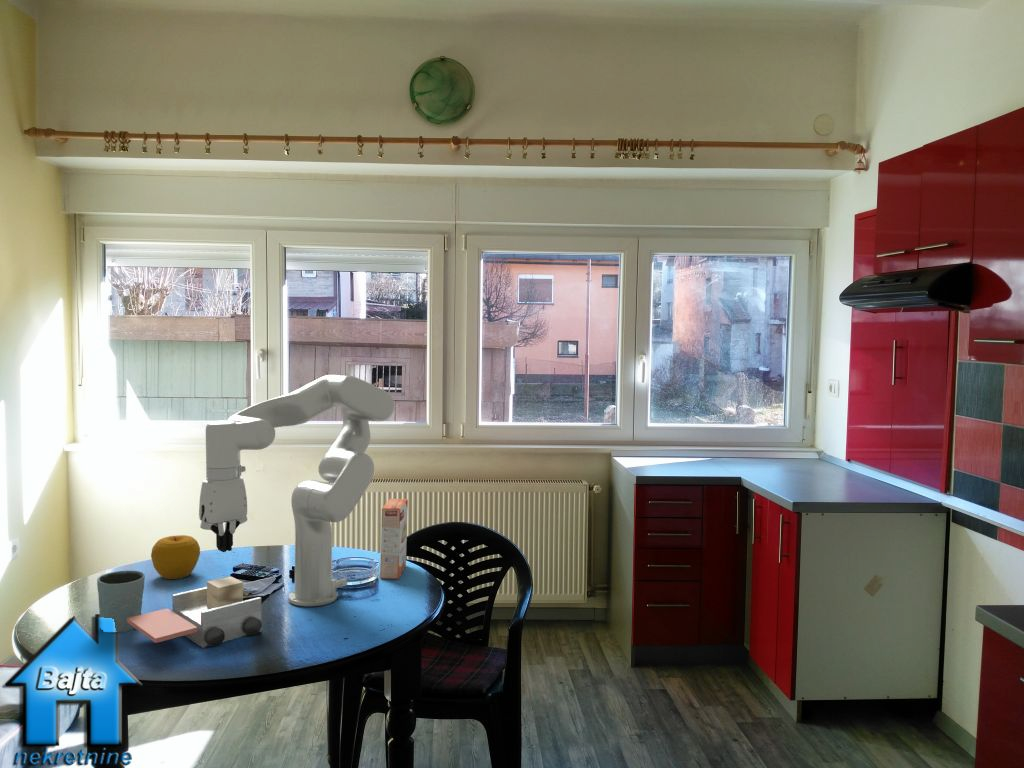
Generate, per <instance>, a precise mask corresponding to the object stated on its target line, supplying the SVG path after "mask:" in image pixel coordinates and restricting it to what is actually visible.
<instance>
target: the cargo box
mask: <svg viewBox="0 0 1024 768" xmlns="http://www.w3.org/2000/svg"><path fill="white" fill-rule="evenodd" d="M206 587H207V607H209V608H210V609H213V608H217V607H221V606H225V605H229V604H233V603H237V602H241V601H244V582H243V581H242V580H239V579H237V578H235V577H233V576H227V577H222V578H217V579H214V580H209V581H206Z"/></svg>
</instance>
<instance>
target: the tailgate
mask: <svg viewBox="0 0 1024 768" xmlns="http://www.w3.org/2000/svg"><path fill="white" fill-rule="evenodd" d="M127 623H129V624H130V625H131V626H133V627H134V628H135V629H134V630H137V631H138V632H139V633H141V634H142V635H144V636H145V637H147V638H148V639H149V640H151V641H152V642H154V643H155V644H156V643H157V644H158V643H161V642H164V641H168V640H171V639H175V638H179V637H183V636H184V635H187V634H191V633H195V632H197V627H196V626H195V625H193V624H191V623H190V622H188V621H187V620H185V619H183V618H182V617H180V616H179V615H177V614H176V613H174V612H173V610H170V609H169V608H164V609H159V610H154V611H151V612H147V613H141V615H138V616H133V617H129V618H127Z"/></svg>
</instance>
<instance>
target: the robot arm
mask: <svg viewBox="0 0 1024 768" xmlns="http://www.w3.org/2000/svg"><path fill="white" fill-rule="evenodd" d="M337 407H338V408H340V410H341V416H342V428H341V431H340V432H339V434H338V436H337V438H335V440H334V442H333V443H332V444H331V446H330V447H329V448H328V450H327V451H326V453H325V454H324V456H323V457H322V458H321V461H320V462H319V464H318V473H319V476H320V478H322V480H324V481H320V480H314V479H311V480H309V479H308V480H303V481H302V482H300V483H298V484H297V485H296V486H295V488H294V489H293V491H292V492H291V493H292V494H291V500H290V503H291V508H292V509H291V511H292V515H293V521H294V590H293V591H292V592H290V593H289V595H287V596H288V597H287V599H288V602H289V603H290V604H292V605H295V606H297V607H309V608H310V607H321V606H325V605H329V604H331V603H333V602H335V601H337V599H338V591H337V589H338V588H340V587H345V586H347V585H348V580H347V578H339V579H338V578H337V577H336V578H332V575H333V574H332V572H333V571H332V570H333V569H332V568H333V567H332V566H333V563H332V562H333V559H332V558H333V556H332V555H333V530H332V529H333V528H332V524H331V523H340V522H342V521H344V520H346V519H347V518H348V517H349V515H350V514H351V513H352V512H353V510H354V509H355V507H356V506H357V505H358V503H359V501H360V500H361V498H362V497H363V495H364V494H365V493H366V491H367V489H368V488H369V487H370V484H371V483H372V480H373V478H374V473H375V464H374V461H373V459H372V457H371V456H370V455H368V454H367V453H366V450H367V448H368V447H369V445H370V443H371V429H370V424H369V421H372V422H384V421H386V420H388V419H390V417H391V416H392V415H393V413H394V410H395V401H394V398H393V396H392V395H391V394H390V393H389V392H388V391H386V390H384V389H383V388H380V387H378V386H376V385H374V384H373V383H370V382H368V381H365V380H363V379H361V378H359V377H356V376H352V375H343V374H326V375H323V376H321V377H319V378H317V379H315V380H314V381H312V382H311V381H310V382H309V383H307V384H305V385H304V386H301V387H300V388H298V389H296V390H294V391H292V392H290V393H287V394H285V395H284V394H283V395H281V396H277V397H274V398H271V399H267V400H264V401H261V402H259V403H256V404H253V405H251V406H248V407H246V408H245V409H243V410H240V411H238V412H236V413H234V414H233V415H231V416H230V417H228V418H227V419H226V420H215V421H211V422H208V423H207V425H206V426H205V472H206V474H205V475H206V479H205V480H202V483H201V486H200V487H201V489H200V492H199V493H200V496H199V505H198V519H199V521H201V522H200V527H199V528H200V529H202V530H205V531H207V530H209V531H211V532H213V533H214V534H215V535H216V537H215V538H216V539H215V540H216V548H217V551H219V552H222V553H227V551H229V552H230V551H231V552H232V550H233V548H232V547H233V546H234V534H235V533H236V530H237V528H238V527H239V526H240V525H242V524H244V523H246V522H247V521H248V497H247V491H246V484H245V482H244V478H243V477H242V473H245V472H246V466H245V465H241V451H244V450H245V451H246V450H248V451H252V450H253V451H258V450H259V451H261V450H263V449H266V448H268V447H269V446H271V445H272V444H273V442H274V441H275V438H276V429H275V428H282V427H293V426H298V425H302V424H305V423H308V422H310V421H311V420H313V419H315V418H316V417H318V416H320V415H322V414H324V413H326V412H327V411H329V410H331V409H333V408H337ZM326 481H327V482H326Z"/></svg>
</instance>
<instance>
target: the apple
mask: <svg viewBox="0 0 1024 768" xmlns="http://www.w3.org/2000/svg"><path fill="white" fill-rule="evenodd" d="M200 555H201V547H200V545H199V542H198V540H197V539H195V538H194V537H193V536H190V535H184V534H182V535H181V534H179V535H170V536H165V537H162V538H160V539H158V540H157V541H156V543H155V544H154V545H153V547H152V549H151V553H150V557H151V561H152V565H153V567H154V570H155V571H156V572H157V573H158V575H160V577H162V578H163V579H166V580H178V579H182V578H186V577H188V576H190V575H191V574H192V572H193V571H194V569H195V568H196V566H197V563H198V561H199V558H200Z"/></svg>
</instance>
